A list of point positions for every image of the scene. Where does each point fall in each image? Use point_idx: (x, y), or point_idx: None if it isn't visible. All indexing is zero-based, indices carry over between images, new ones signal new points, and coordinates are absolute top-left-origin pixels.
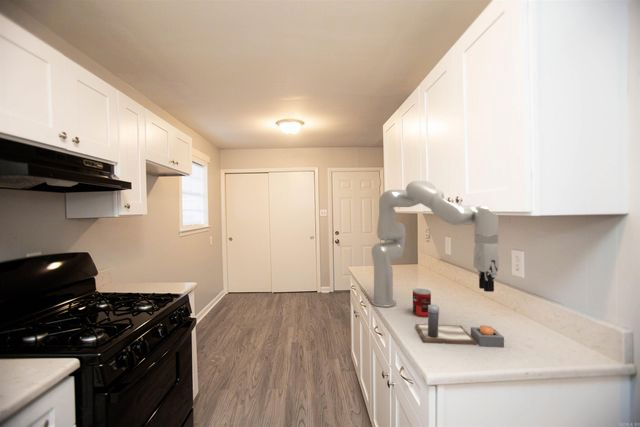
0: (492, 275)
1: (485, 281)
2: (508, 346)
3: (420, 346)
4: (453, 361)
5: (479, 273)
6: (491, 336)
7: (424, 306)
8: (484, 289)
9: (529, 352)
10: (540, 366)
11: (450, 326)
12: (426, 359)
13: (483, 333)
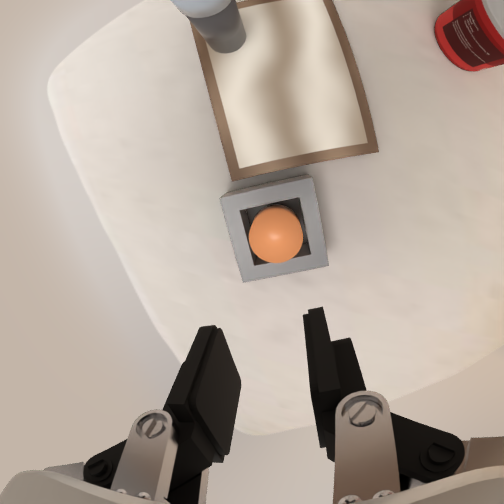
0: (55, 470)
1: (177, 402)
2: (259, 282)
3: (162, 19)
4: (101, 113)
5: (361, 442)
6: (235, 241)
7: (457, 29)
8: (198, 334)
9: (236, 324)
10: (163, 320)
11: (351, 105)
12: (94, 52)
13: (255, 217)
